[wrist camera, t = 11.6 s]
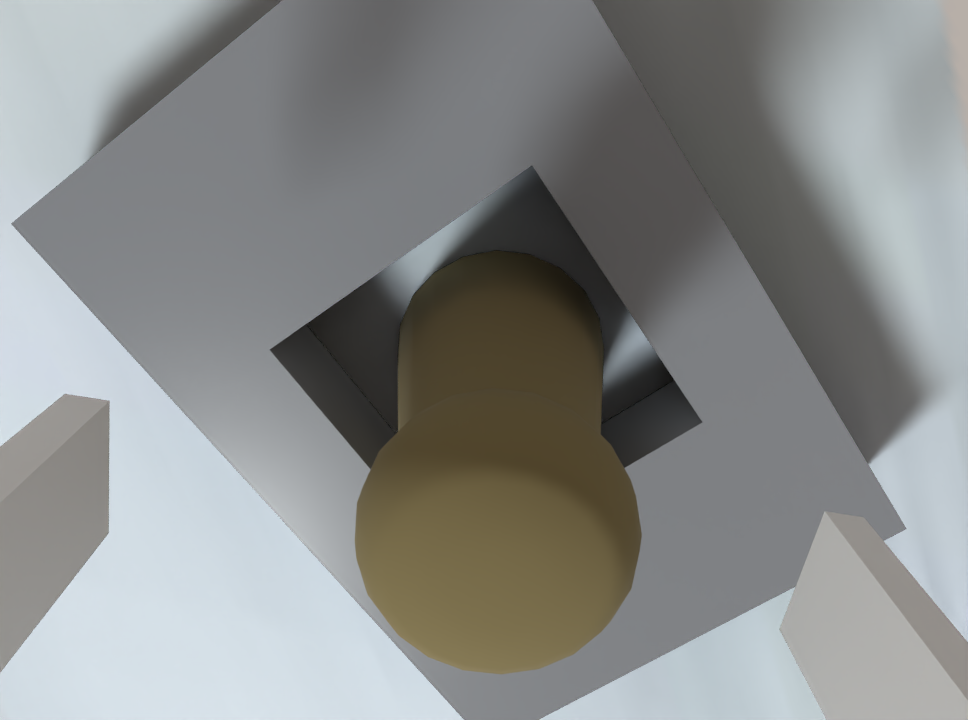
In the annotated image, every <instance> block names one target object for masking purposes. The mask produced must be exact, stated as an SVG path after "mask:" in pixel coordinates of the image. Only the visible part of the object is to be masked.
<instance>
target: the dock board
mask: <svg viewBox="0 0 968 720" xmlns="http://www.w3.org/2000/svg"><path fill="white" fill-rule="evenodd" d="M531 166H533V168H534V169H535V171H536V172H537V174H538V175H539V177H540V178H541V180H542V181H543V183H544V184H545V186H546V187H547V189H548V190H549V192H550V193H551V195H552V196H553V198H554V199H555V201H556V202H557V204H558V205H559V207H560V208H561V210H562V211H563V213H564V214H565V216H566V217H567V219H568V220H569V222H570V223H571V225H572V226H573V228H574V229H575V231H576V232H577V234H578V235H579V237H580V238H581V240H582V241H583V243H584V244H585V246H586V247H587V249H588V250H589V252H590V253H591V255H592V256H593V258H594V259H595V261H596V263H597V264H598V266H599V267H600V269H601V270H602V272H603V273H604V275H605V276H606V278H607V279H608V281H609V282H610V284H611V285H612V287H613V288H614V290H615V291H616V293H617V294H618V296H619V297H620V299H621V300H622V302H623V303H624V305H625V306H626V308H627V309H628V311H629V312H630V314H631V315H632V317H633V318H634V320H635V321H636V323H637V324H638V326H639V327H640V329H641V330H642V332H643V333H644V335H645V336H646V338H647V339H648V341H649V342H650V344H651V345H652V347H653V348H654V350H655V351H656V353H657V354H658V356H659V358H660V359H661V361H662V362H663V364H664V365H665V367H666V368H667V370H668V371H669V373H670V374H671V376H672V377H673V379H674V381H673V382H671V383H669V384H668V385H666V386H664V387H663V388H661V389H659V390H658V391H656V392H654V393H653V394H651V395H649V396H648V397H646V398H644V399H643V400H641V401H639V402H638V403H636V404H634V405H633V406H631V407H629V408H628V409H626V410H625V411H623V412H621V413H620V414H618V415H616V416H615V417H613V418H611V419H610V420H608V421H606V422H605V423H603V424H601V435H602V436H603V437H604V438H605V439H606V440H607V441H608V442H609V443H610V444H611V446H612V447H613V449H614V451H615V453H616V455H617V456H618V458H619V460H620V462H621V463H622V465H623V467H624V469H625V470H626V472H627V474H628V476H629V477H630V479H631V482H632V485H633V488H634V492H635V495H636V500H637V506H638V512H639V519H640V525H641V532H642V538H641V545H640V552H639V557H638V561H637V566H636V570H635V575H634V579H633V584H632V588H631V590H630V592H629V594H628V595H627V597H626V598H625V600H624V601H623V603H622V604H621V606H620V608H619V609H618V611H617V612H616V614H615V615H614V617H613V618H612V620H611V621H610V623H609V624H608V625H607V626H606V627H605V628H604V629H603V631H602V632H601V633H599V634H598V635H597V636H596V637H594V638H593V639H592V640H591V641H590V642H588V643H587V644H586V645H585V646H583V647H582V648H581V649H580V650H578V651H577V652H576V653H575V654H573V655H571V656H569V657H567V658H564V659H562V660H559V661H557V662H555V663H552V664H550V665H548V666H545V667H543V668H540V669H536V670H529V671H522V672H515V673H508V674H493V673H483V672H474V671H465V670H461V669H458V668H456V667H453V666H450V665H448V664H445V663H442V662H440V661H437V660H434V659H432V658H429V657H427V656H426V655H424V654H423V653H422V652H420V651H419V650H418V649H416V648H415V647H414V646H412V645H411V644H409V643H408V642H407V641H405V640H404V639H403V638H401V637H400V636H399V635H398V634H397V633H396V632H395V630H394V629H393V628H392V627H391V626H390V624H389V623H388V622H387V620H386V619H385V617H384V616H383V615H382V613H381V612H380V611H379V609H378V608H377V607H376V605H375V604H374V603H373V601H372V600H371V599H370V597H369V596H368V595H367V591H366V588H365V585H364V582H363V578H362V575H361V572H360V569H359V566H358V562H357V559H356V550H355V526H356V510H357V501H358V499H359V496H360V493H361V490H362V487H363V485H364V483H365V481H366V478H367V476H368V474H369V472H370V470H371V468H372V465H373V463H374V461H375V459H376V457H377V455H378V452H379V451H380V450H381V449H382V447H383V446H384V445H385V444H386V443H387V442H388V441H389V440H390V439H391V438H392V437H393V436H394V435H395V433H394V431H393V430H392V429H391V428H390V427H389V425H388V424H387V423H386V422H385V420H384V419H383V418H382V417H381V416H380V414H379V413H378V412H377V411H376V409H375V408H374V407H373V406H372V405H371V403H370V402H369V401H368V400H367V398H366V397H365V396H364V395H363V394H362V392H361V391H360V390H359V389H358V387H357V386H356V385H355V384H354V383H353V381H352V380H351V379H350V378H349V376H348V375H347V374H346V373H345V372H344V370H343V369H342V368H341V367H340V365H339V364H338V363H337V362H336V361H335V359H334V358H333V357H332V356H331V354H330V353H329V352H328V351H327V350H326V348H325V347H324V346H323V345H322V344H321V342H320V341H319V340H318V339H317V337H316V336H315V335H314V334H313V333H312V331H311V330H310V329H309V328H308V326H307V325H306V324H307V323H308V322H310V321H311V320H313V319H314V318H315V317H317V316H318V315H320V314H321V313H322V312H324V311H325V310H327V309H328V308H330V307H331V306H332V305H334V304H335V303H337V302H338V301H340V300H341V299H342V298H344V297H345V296H347V295H348V294H350V293H351V292H352V291H354V290H355V289H357V288H358V287H360V286H361V285H362V284H364V283H365V282H367V281H368V280H370V279H371V278H372V277H374V276H375V275H377V274H378V273H379V272H381V271H382V270H384V269H385V268H387V267H388V266H389V265H391V264H392V263H394V262H395V261H397V260H398V259H399V258H401V257H402V256H404V255H405V254H407V253H408V252H409V251H411V250H412V249H414V248H415V247H417V246H418V245H419V244H421V243H422V242H424V241H425V240H426V239H428V238H429V237H431V236H432V235H434V234H435V233H436V232H438V231H439V230H441V229H442V228H444V227H445V226H446V225H448V224H449V223H451V222H452V221H454V220H455V219H456V218H458V217H459V216H461V215H462V214H464V213H465V212H466V211H468V210H469V209H471V208H472V207H474V206H475V205H476V204H478V203H479V202H481V201H482V200H483V199H485V198H486V197H488V196H489V195H491V194H492V193H493V192H495V191H496V190H498V189H499V188H501V187H502V186H503V185H505V184H506V183H508V182H509V181H511V180H512V179H513V178H515V177H516V176H518V175H519V174H521V173H522V172H523V171H525V170H526V169H528V168H529V167H531ZM11 224H12V225H13V226H14V227H15V229H16V230H17V231H18V232H19V233H20V234H21V235H22V236H23V237H24V238H25V239H26V241H27V242H28V243H29V244H30V245H31V246H32V247H33V248H34V249H35V250H36V252H37V253H38V254H39V255H40V256H41V257H42V258H43V259H44V260H45V261H46V262H47V264H48V265H49V266H50V267H51V268H52V269H53V270H54V271H55V272H56V273H57V274H58V276H59V277H60V278H61V279H62V280H63V281H64V282H65V283H66V284H67V285H68V287H69V288H70V289H71V290H72V291H73V292H74V293H75V294H76V295H77V296H78V297H79V299H80V300H81V301H82V302H83V303H84V304H85V305H86V306H87V307H88V308H89V310H90V311H91V312H92V313H93V314H94V315H95V316H96V317H97V318H98V319H99V320H100V322H101V323H102V324H103V325H104V326H105V327H106V328H107V329H108V330H109V331H110V332H111V334H112V335H113V336H114V337H115V338H116V339H117V340H118V341H119V342H120V343H121V345H122V346H123V347H124V348H125V349H126V350H127V351H128V352H129V353H130V354H131V355H132V357H133V358H134V359H135V360H136V361H137V362H138V363H139V364H140V365H141V366H142V368H143V369H144V370H145V371H146V372H147V373H148V374H149V375H150V376H151V377H152V378H153V380H154V381H155V382H156V383H157V384H158V385H159V386H160V387H161V388H162V389H163V391H164V392H165V393H166V394H167V395H168V396H169V397H170V398H171V399H172V400H173V401H174V403H175V404H176V405H177V406H178V407H179V408H180V409H181V410H182V411H183V412H184V413H185V415H186V416H187V417H188V418H189V419H190V420H191V421H192V422H193V423H194V424H195V426H196V427H197V428H198V429H199V430H200V431H201V432H202V433H203V434H204V435H205V436H206V438H207V439H208V440H209V441H210V442H211V443H212V444H213V445H214V446H215V447H216V449H217V450H218V451H219V452H220V453H221V454H222V455H223V456H224V457H225V458H226V459H227V461H228V462H229V463H230V464H231V465H232V466H233V467H234V468H235V469H236V470H237V471H238V473H239V474H240V475H241V476H242V477H243V478H244V479H245V480H246V481H247V482H248V484H249V485H250V486H251V487H252V488H253V489H254V490H255V491H256V492H257V493H258V494H259V496H260V497H261V498H262V499H263V500H264V501H265V502H266V503H267V504H268V505H269V507H270V508H271V509H272V510H273V511H274V512H275V513H276V514H277V515H278V516H279V517H280V519H281V520H282V521H283V522H284V523H285V524H286V525H287V526H288V527H289V528H290V530H291V531H292V532H293V533H294V534H295V535H296V536H297V537H298V538H299V539H300V540H301V542H302V543H303V544H304V545H305V546H306V547H307V548H308V549H309V550H310V551H311V552H312V554H313V555H314V556H315V557H316V558H317V559H318V560H319V561H320V562H321V563H322V565H323V566H324V567H325V568H326V569H327V570H328V571H329V572H330V573H331V574H332V575H333V577H334V578H335V579H336V580H337V581H338V582H339V583H340V584H341V585H342V586H343V588H344V589H345V590H346V591H347V592H348V593H349V594H350V595H351V596H352V597H353V598H354V600H355V601H356V602H357V603H358V604H359V605H360V606H361V607H362V608H363V609H364V610H365V612H366V613H367V614H368V615H369V616H370V617H371V618H372V619H373V620H374V621H375V623H376V624H377V625H378V626H379V627H380V628H381V629H382V630H383V631H384V632H385V633H386V635H387V636H388V637H389V638H390V639H391V640H392V641H393V642H394V643H395V644H396V646H397V647H398V648H399V649H400V650H401V651H402V652H403V653H404V654H405V655H406V656H407V658H408V659H409V660H410V661H411V662H412V663H413V664H414V665H415V666H416V667H417V669H418V670H419V671H420V672H421V673H422V674H423V675H424V676H425V677H426V678H427V679H428V681H429V682H430V683H431V684H432V685H433V686H434V687H435V688H436V689H437V690H438V691H439V693H440V694H441V695H442V696H443V697H444V698H445V699H446V700H447V701H448V702H449V704H450V705H451V706H452V707H453V708H454V709H455V710H456V711H457V712H458V713H459V714H460V716H461V717H462V718H463V719H464V720H539V719H541V718H543V717H544V716H546V715H548V714H550V713H552V712H554V711H556V710H558V709H560V708H562V707H564V706H566V705H568V704H570V703H571V702H573V701H575V700H577V699H579V698H581V697H583V696H585V695H587V694H589V693H591V692H593V691H595V690H597V689H599V688H600V687H602V686H604V685H606V684H608V683H610V682H612V681H614V680H616V679H618V678H620V677H622V676H624V675H626V674H627V673H629V672H631V671H633V670H635V669H637V668H639V667H641V666H643V665H645V664H647V663H649V662H651V661H653V660H654V659H656V658H658V657H660V656H662V655H664V654H666V653H668V652H670V651H672V650H674V649H676V648H678V647H680V646H681V645H683V644H685V643H687V642H689V641H691V640H693V639H695V638H697V637H699V636H701V635H703V634H705V633H707V632H708V631H710V630H712V629H714V628H716V627H718V626H720V625H722V624H724V623H726V622H728V621H730V620H732V619H734V618H736V617H737V616H739V615H741V614H743V613H745V612H747V611H749V610H751V609H753V608H755V607H757V606H759V605H761V604H763V603H764V602H766V601H768V600H770V599H772V598H774V597H776V596H778V595H780V594H782V593H784V592H786V591H788V590H790V589H791V588H793V587H795V586H796V585H797V582H798V579H799V577H800V574H801V572H802V569H803V566H804V564H805V561H806V559H807V556H808V553H809V551H810V548H811V545H812V543H813V540H814V538H815V535H816V532H817V530H818V527H819V525H820V522H821V519H822V517H823V514H824V512H825V511H826V512H832V513H839V514H845V515H852V516H858V517H864V518H865V520H866V521H867V522H868V523H869V524H870V526H871V527H872V528H873V529H874V530H875V532H876V533H877V534H878V535H879V536H880V538H881V539H882V540H883V541H884V540H886V539H888V538H890V537H892V536H894V535H896V534H898V533H900V532H901V531H903V530H905V529H906V527H905V526H904V524H903V522H902V521H901V519H900V517H899V515H898V514H897V512H896V510H895V509H894V507H893V505H892V504H891V502H890V500H889V499H888V497H887V495H886V494H885V492H884V490H883V489H882V487H881V485H880V483H879V482H878V480H877V478H876V477H875V475H874V473H873V472H872V470H871V468H870V467H869V465H868V463H867V462H866V460H865V458H864V457H863V455H862V453H861V451H860V450H859V448H858V446H857V445H856V443H855V441H854V440H853V438H852V436H851V435H850V433H849V431H848V430H847V428H846V426H845V425H844V423H843V421H842V420H841V418H840V416H839V414H838V413H837V411H836V409H835V408H834V406H833V404H832V403H831V401H830V399H829V398H828V396H827V394H826V393H825V391H824V389H823V388H822V386H821V384H820V382H819V381H818V379H817V377H816V376H815V374H814V372H813V371H812V369H811V367H810V366H809V364H808V362H807V361H806V359H805V357H804V356H803V354H802V352H801V350H800V349H799V347H798V345H797V344H796V342H795V340H794V339H793V337H792V335H791V334H790V332H789V330H788V329H787V327H786V325H785V324H784V322H783V320H782V319H781V317H780V315H779V313H778V312H777V310H776V308H775V307H774V305H773V303H772V302H771V300H770V298H769V297H768V295H767V293H766V292H765V290H764V288H763V287H762V285H761V283H760V281H759V280H758V278H757V276H756V275H755V273H754V271H753V270H752V268H751V266H750V265H749V263H748V261H747V260H746V258H745V256H744V255H743V253H742V251H741V249H740V248H739V246H738V244H737V243H736V241H735V239H734V238H733V236H732V234H731V233H730V231H729V229H728V228H727V226H726V224H725V223H724V221H723V219H722V218H721V216H720V214H719V212H718V211H717V209H716V207H715V206H714V204H713V202H712V201H711V199H710V197H709V196H708V194H707V192H706V191H705V189H704V187H703V186H702V184H701V182H700V180H699V179H698V177H697V175H696V174H695V172H694V170H693V169H692V167H691V165H690V164H689V162H688V160H687V159H686V157H685V155H684V154H683V152H682V150H681V148H680V147H679V145H678V143H677V142H676V140H675V138H674V137H673V135H672V133H671V132H670V130H669V128H668V127H667V125H666V123H665V122H664V120H663V118H662V117H661V115H660V113H659V111H658V110H657V108H656V106H655V105H654V103H653V101H652V100H651V98H650V96H649V95H648V93H647V91H646V90H645V88H644V86H643V85H642V83H641V81H640V79H639V78H638V76H637V74H636V73H635V71H634V69H633V68H632V66H631V64H630V63H629V61H628V59H627V58H626V56H625V54H624V53H623V51H622V49H621V47H620V46H619V44H618V42H617V41H616V39H615V37H614V36H613V34H612V32H611V31H610V29H609V27H608V26H607V24H606V22H605V21H604V19H603V17H602V16H601V14H600V12H599V10H598V9H597V7H596V5H595V4H594V2H593V0H282V1H281V2H280V3H278V4H277V5H276V6H275V7H274V8H272V9H271V10H270V11H269V12H268V13H266V14H265V15H264V16H263V17H261V18H260V19H259V20H258V21H257V22H255V23H254V24H253V25H252V26H251V27H249V28H248V29H247V30H246V31H244V32H243V33H242V34H241V35H240V36H238V37H237V38H236V39H235V40H234V41H232V42H231V43H230V44H229V45H227V46H226V47H225V48H224V49H223V50H221V51H220V52H219V53H218V54H217V55H215V56H214V57H213V58H212V59H210V60H209V61H208V62H207V63H206V64H204V65H203V66H202V67H201V68H200V69H198V70H197V71H196V72H195V73H193V74H192V75H191V76H190V77H189V78H187V79H186V80H185V81H184V82H183V83H181V84H180V85H179V86H178V87H176V88H175V89H174V90H173V91H172V92H170V93H169V94H168V95H167V96H166V97H164V98H163V99H162V100H161V101H160V102H158V103H157V104H156V105H155V106H153V107H152V108H151V109H150V110H149V111H147V112H146V113H145V114H144V115H143V116H141V117H140V118H139V119H138V120H136V121H135V122H134V123H133V124H132V125H130V126H129V127H128V128H127V129H126V130H124V131H123V132H122V133H121V134H119V135H118V136H117V137H116V138H115V139H113V140H112V141H111V142H110V143H109V144H107V145H106V146H105V147H104V148H102V149H101V150H100V151H99V152H98V153H96V154H95V155H94V156H93V157H92V158H90V159H89V160H88V161H87V162H85V163H84V164H83V165H82V166H81V167H79V168H78V169H77V170H76V171H75V172H73V173H72V174H71V175H70V176H68V177H67V178H66V179H65V180H64V181H62V182H61V183H60V184H59V185H58V186H56V187H55V188H54V189H53V190H51V191H50V192H49V193H48V194H47V195H45V196H44V197H43V198H42V199H41V200H39V201H38V202H37V203H36V204H34V205H33V206H32V207H31V208H30V209H28V210H27V211H26V212H25V213H24V214H22V215H21V216H20V217H19V218H18V219H16V220H15V221H14V222H13V223H11Z"/></svg>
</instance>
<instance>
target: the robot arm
mask: <svg viewBox="0 0 968 720" xmlns="http://www.w3.org/2000/svg"><path fill="white" fill-rule="evenodd" d="M108 533H109V401H107V400H101V399H94V398H88V397H81V396H75V395H68V394H64V395H63V396H62V397H61V398H59V399H58V400H57V401H56V402H54V403H53V404H52V405H51V406H50V407H48V408H47V409H46V410H45V411H43V412H42V413H41V414H40V415H39V416H37V417H36V418H35V419H34V420H32V421H31V422H30V423H29V424H28V425H26V426H25V427H24V428H23V429H21V430H20V431H19V432H18V433H17V434H15V435H14V436H13V437H12V438H10V439H9V440H8V441H7V442H5V443H4V444H3V445H2V446H1V447H0V672H1V671H2V670H3V668H4V667H5V666H6V665H7V663H8V662H9V661H10V659H11V658H12V657H13V656H14V654H15V653H16V652H17V650H18V649H19V648H20V647H21V645H22V644H23V643H24V641H25V640H26V639H27V638H28V636H29V635H30V634H31V632H32V631H33V630H34V628H35V627H36V626H37V625H38V623H39V622H40V621H41V619H42V618H43V617H44V616H45V614H46V613H47V612H48V610H49V609H50V608H51V607H52V605H53V604H54V603H55V601H56V600H57V599H58V598H59V596H60V595H61V594H62V592H63V591H64V590H65V589H66V587H67V586H68V585H69V583H70V582H71V581H72V580H73V578H74V577H75V576H76V574H77V573H78V572H79V571H80V569H81V568H82V567H83V565H84V564H85V563H86V562H87V560H88V559H89V558H90V556H91V555H92V554H93V553H94V551H95V550H96V549H97V547H98V546H99V545H100V544H101V542H102V541H103V540H104V538H105V537H106V536H107V534H108ZM779 630H780V631H781V633H782V635H783V637H784V639H785V641H786V643H787V645H788V647H789V649H790V651H791V653H792V654H793V656H794V658H795V660H796V662H797V664H798V666H799V668H800V670H801V672H802V674H803V675H804V677H805V679H806V681H807V683H808V685H809V687H810V689H811V691H812V693H813V695H814V697H815V698H816V700H817V702H818V704H819V706H820V708H821V710H822V712H823V714H824V716H825V718H826V720H968V642H967V641H966V640H965V639H964V637H963V636H962V635H961V634H960V633H959V631H958V630H957V629H956V628H955V627H954V625H953V624H952V623H951V622H950V621H949V619H948V618H947V617H946V616H945V615H944V613H943V612H942V611H941V610H940V608H939V607H938V606H937V605H936V604H935V602H934V601H933V600H932V599H931V598H930V596H929V595H928V594H927V593H926V592H925V590H924V589H923V588H922V587H921V586H920V584H919V583H918V582H917V581H916V580H915V578H914V577H913V576H912V575H911V574H910V572H909V571H908V570H907V569H906V568H905V566H904V565H903V564H902V563H901V562H900V560H899V559H898V558H897V557H896V556H895V554H894V553H893V552H892V551H891V550H890V548H889V547H888V546H887V545H886V544H885V542H884V541H883V540H882V539H881V538H880V536H879V535H878V534H877V533H876V532H875V530H874V529H873V528H872V527H871V526H870V524H869V523H868V522H867V521H866V520H865V518H864V517H858V516H852V515H845V514H839V513H832V512H826V511H825V512H824V514H823V517H822V519H821V522H820V525H819V527H818V530H817V532H816V535H815V538H814V540H813V543H812V545H811V548H810V551H809V553H808V556H807V559H806V561H805V564H804V566H803V569H802V572H801V574H800V577H799V579H798V582H797V585H796V587H795V590H794V592H793V595H792V598H791V600H790V603H789V606H788V608H787V611H786V613H785V616H784V619H783V621H782V624H781V626H780V629H779Z"/></svg>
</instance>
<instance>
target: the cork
mask: <svg viewBox="0 0 968 720" xmlns="http://www.w3.org/2000/svg"><path fill="white" fill-rule="evenodd" d="M603 358H604V346H603V340H602V333H601V327H600V321H599V317H598V315H597V313H596V311H595V310H594V308H593V306H592V304H591V302H590V300H589V298H588V297H587V295H586V293H585V291H584V290H583V289H582V288H581V287H580V286H579V285H578V284H577V283H576V282H575V281H574V280H572V279H571V278H570V277H569V276H568V275H567V274H566V273H565V272H564V271H563V270H562V269H561V268H559V267H557V266H554V265H552V264H550V263H548V262H546V261H543V260H541V259H539V258H537V257H535V256H532V255H530V254H523V253H514V252H506V251H497V250H496V251H491V252H486V253H480V254H475V255H470V256H465V257H462V258H460V259H458V260H457V261H455V262H453V263H451V264H449V265H447V266H446V267H444V268H442V269H440V270H438V271H437V272H435V273H434V274H433V275H432V276H431V277H430V278H429V279H428V280H427V281H426V282H425V283H424V284H423V286H422V287H421V288H420V289H419V290H418V291H417V292H416V293H415V294H414V295H413V296H412V299H411V301H410V303H409V306H408V308H407V310H406V312H405V315H404V317H403V319H402V321H401V324H400V332H399V345H398V432H397V433H396V434H395V435H394V436H393V437H392V438H391V439H390V440H389V441H388V442H387V443H386V444H385V445H384V446H383V447H382V449H381V450H380V451H379V452H378V455H377V457H376V459H375V461H374V463H373V465H372V468H371V470H370V472H369V474H368V476H367V478H366V481H365V483H364V485H363V487H362V490H361V493H360V496H359V499H358V501H357V510H356V526H355V550H356V559H357V562H358V566H359V569H360V572H361V575H362V578H363V582H364V585H365V588H366V591H367V595H368V596H369V597H370V599H371V600H372V601H373V603H374V604H375V605H376V607H377V608H378V609H379V611H380V612H381V613H382V615H383V616H384V617H385V619H386V620H387V622H388V623H389V624H390V626H391V627H392V628H393V629H394V630H395V632H396V633H397V634H398V635H399V636H400V637H401V638H403V639H404V640H405V641H407V642H408V643H409V644H411V645H412V646H414V647H415V648H416V649H418V650H419V651H420V652H422V653H423V654H424V655H426V656H427V657H429V658H432V659H434V660H437V661H440V662H442V663H445V664H448V665H450V666H453V667H456V668H458V669H461V670H465V671H474V672H483V673H493V674H508V673H515V672H522V671H529V670H536V669H540V668H543V667H545V666H548V665H550V664H552V663H555V662H557V661H559V660H562V659H564V658H567V657H569V656H571V655H573V654H575V653H576V652H577V651H578V650H580V649H581V648H582V647H583V646H585V645H586V644H587V643H588V642H590V641H591V640H592V639H593V638H594V637H596V636H597V635H598V634H599V633H601V632H602V631H603V629H604V628H605V627H606V626H607V625H608V624H609V623H610V621H611V620H612V618H613V617H614V615H615V614H616V612H617V611H618V609H619V608H620V606H621V604H622V603H623V601H624V600H625V598H626V597H627V595H628V594H629V592H630V590H631V588H632V584H633V579H634V575H635V570H636V566H637V561H638V557H639V552H640V545H641V538H642V532H641V525H640V519H639V512H638V506H637V500H636V495H635V492H634V488H633V485H632V482H631V479H630V477H629V476H628V474H627V472H626V470H625V469H624V467H623V465H622V463H621V462H620V460H619V458H618V456H617V455H616V453H615V451H614V449H613V447H612V446H611V444H610V443H609V442H608V441H607V440H606V439H605V438H604V437H603V436H602V435H601V411H602V385H603Z"/></svg>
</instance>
